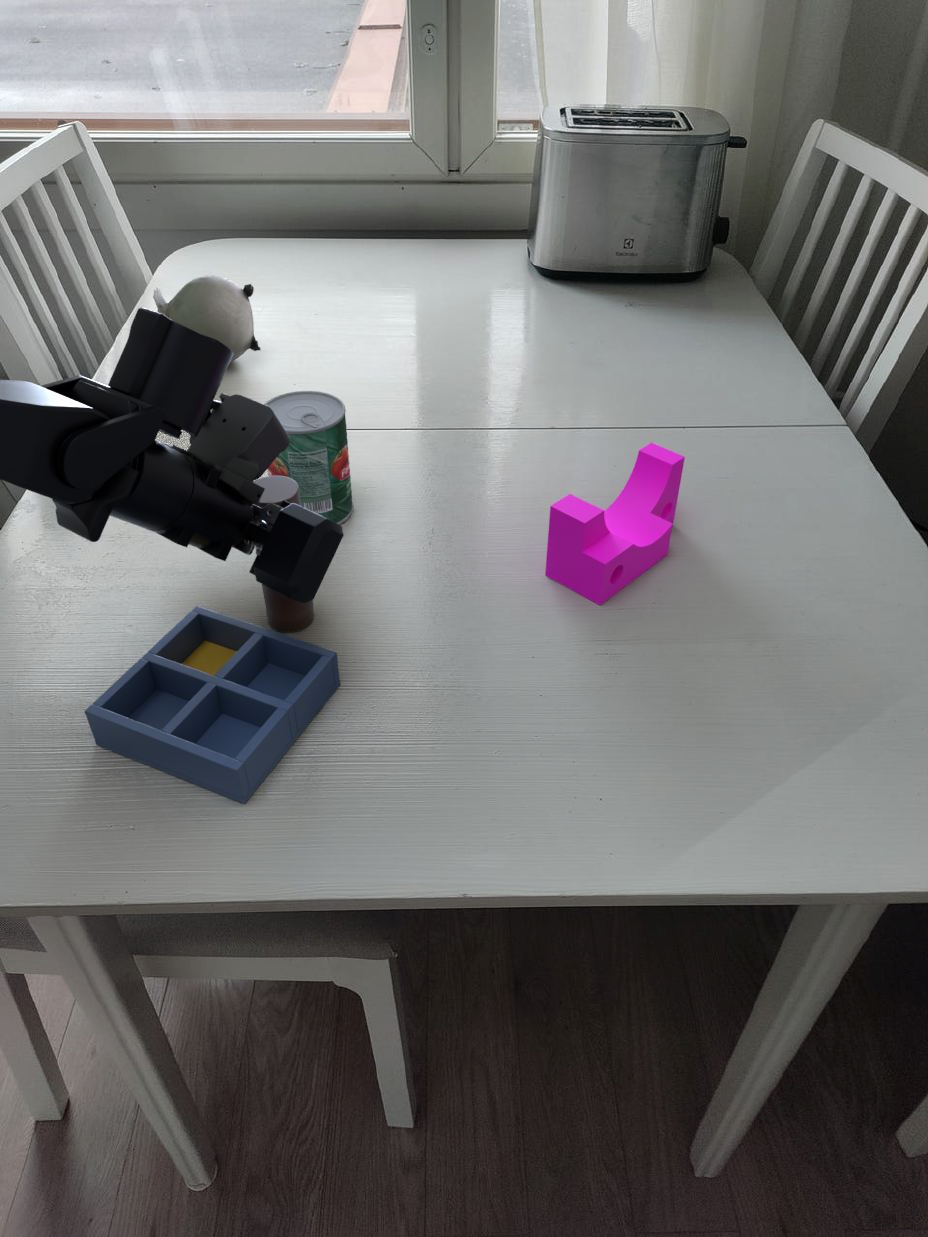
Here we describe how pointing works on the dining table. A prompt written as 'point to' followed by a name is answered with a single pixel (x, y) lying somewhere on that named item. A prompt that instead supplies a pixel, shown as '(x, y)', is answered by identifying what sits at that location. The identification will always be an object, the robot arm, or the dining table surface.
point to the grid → (216, 702)
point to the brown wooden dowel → (278, 607)
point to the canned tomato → (315, 451)
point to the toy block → (616, 529)
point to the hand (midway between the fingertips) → (294, 546)
